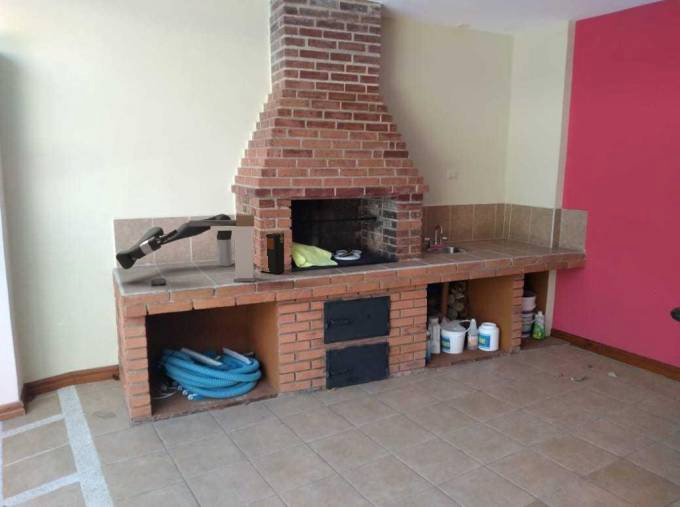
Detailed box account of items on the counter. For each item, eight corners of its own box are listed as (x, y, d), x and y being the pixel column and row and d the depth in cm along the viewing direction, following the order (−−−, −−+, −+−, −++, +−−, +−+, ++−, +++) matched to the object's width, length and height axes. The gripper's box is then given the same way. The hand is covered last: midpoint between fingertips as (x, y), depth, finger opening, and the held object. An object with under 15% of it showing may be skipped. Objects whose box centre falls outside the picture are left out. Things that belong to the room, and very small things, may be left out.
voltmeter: (286, 272, 336) (285, 232, 331) (277, 275, 329) (277, 234, 324) (266, 269, 344) (265, 230, 339) (257, 272, 336) (256, 232, 332)
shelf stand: (213, 278, 319) (212, 224, 312) (255, 277, 322) (254, 224, 316) (212, 282, 309) (210, 227, 303) (255, 281, 312) (254, 226, 306)
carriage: (190, 225, 309) (189, 214, 308) (254, 224, 314) (254, 214, 313) (188, 226, 302) (188, 216, 301) (254, 226, 308) (253, 215, 306)
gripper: (156, 249, 316) (181, 235, 316) (151, 253, 302) (177, 239, 303) (149, 238, 314) (174, 224, 315) (144, 242, 300) (169, 227, 301)
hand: (175, 231), depth 309 cm, fingers open, 8 cm apart
